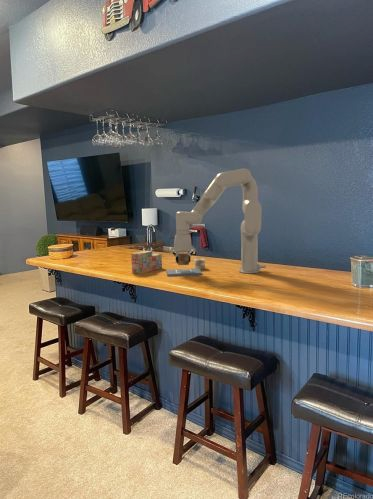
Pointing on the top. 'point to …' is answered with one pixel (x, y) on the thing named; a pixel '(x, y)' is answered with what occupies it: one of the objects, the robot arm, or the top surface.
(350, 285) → the top surface
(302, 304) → the top surface
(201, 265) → the maple cube
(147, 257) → the stack of blocks
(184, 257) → the walnut cube
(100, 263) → the top surface
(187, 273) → the board
